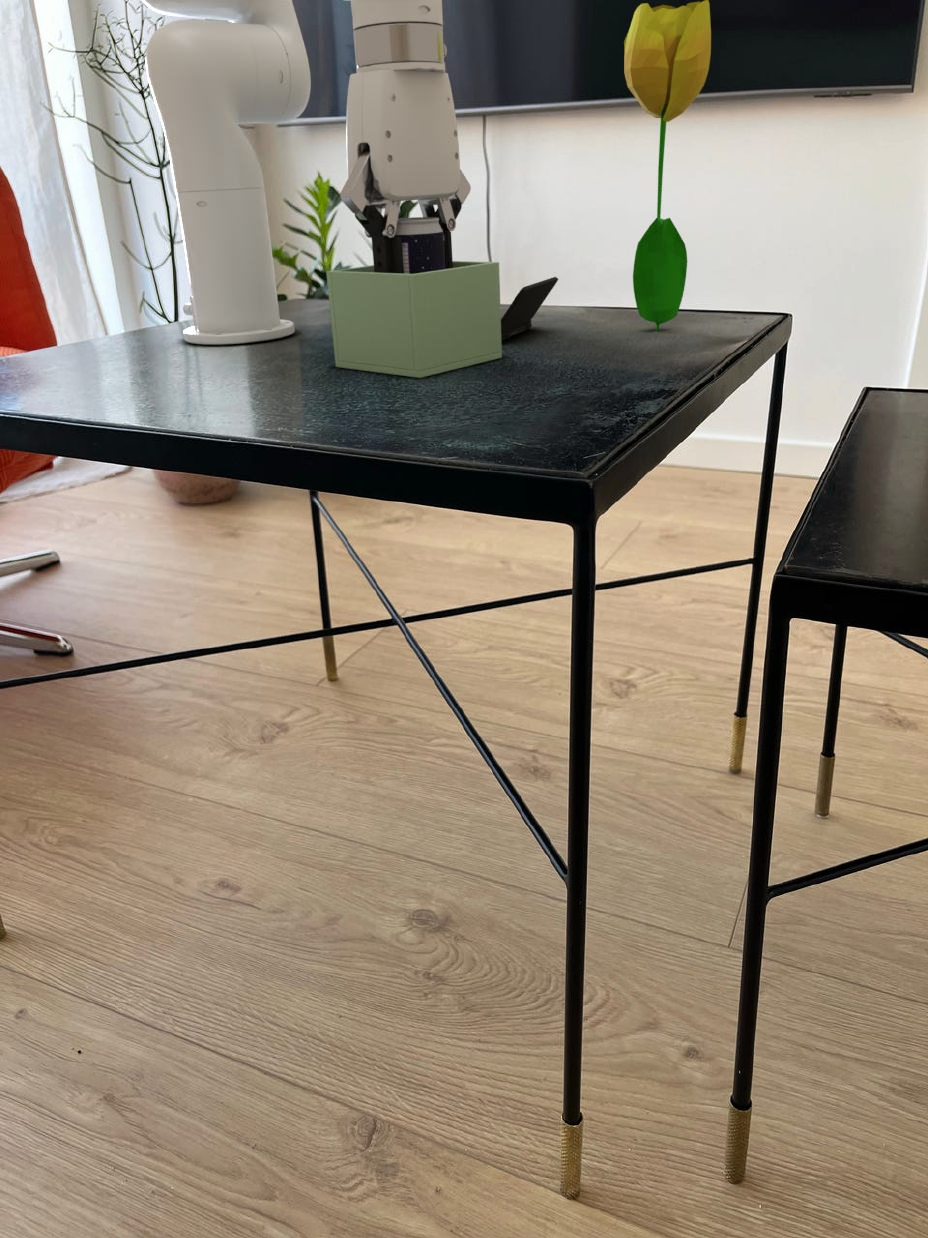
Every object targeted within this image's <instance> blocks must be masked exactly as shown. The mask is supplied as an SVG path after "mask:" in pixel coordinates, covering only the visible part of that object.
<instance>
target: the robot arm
mask: <svg viewBox="0 0 928 1238" xmlns="http://www.w3.org/2000/svg"><path fill="white" fill-rule="evenodd" d="M344 1H347V2H350V7H351V9H350V10H351V17H352V30H353V31H352V35H353V44H354V46H353V47H354V58H355V68H356V70H355V71H356V73H351V74H350V75H349V79H348V80H349V81H348V86H347V98H346V116H345V117H346V118H345V123H346V124H345V141H346V145H345V147H346V167H347V180H346V181H345V184H344V185H343V188H342V189H341V191H340V194H339V195H340V196H339V197H340V200H341V202H342V203H343V204H344V205H345V207H347V209H348V210H349V211H350V212H351V213H352V214H354V218H355V219H356V221H358V223H359V224H360V225H361V226H362V228H363V229H364V235H365V236H366V237H367V238H368V239H369V238H370V239H371V249H372V260H373V265H374V272H376V273H402V274H404V266H403V252H402V241H401V237H394V236H395V233H396V228H397V222H398V218H399V215H400V209H401V203H402V202H406V201H417V202H418V204H419V205H418V206H419V208H420V211H421V214H422V217H436V218H439V221H438V222H439V225H440V227H441V229H442V231H443V232H444V247H445V269H450V268H453V261H454V260H453V243H452V242H453V241H452V232H453V231H455V229H456V228H457V222H456V220H457V218H458V216H459V214H460V213H461V210H462V208H463V207H462V206H463V204H464V203H465V201H466V200H467V198H468V196H469V195H470V192H471V190H472V187H471V184H470V182H469V181H468V179H467V178H466V176H465V173H464V172H463V171H462V169H461V161H460V160H461V159H460V158H461V157H460V143H459V134H458V124H457V123H458V122H457V117H456V109H455V102H454V97H453V96H454V95H453V93H452V92H453V91H452V86H451V81H450V77H449V73H448V72H446V57H447V54H448V47H447V45H446V44H445V37H444V36H445V35H444V34H445V33H444V21H443V19H444V17H443V15H444V14H443V0H344ZM142 2H143V3H144V4H145V5H146V6H147V7H148V8H149V9H151V10H152V11H154V12H156V13H158V14H162V15H167V16H172V17H180V18H185V19H177V20H173V21H170V22H167V23H165V24H163V25H161V26H160V27H158V28H157V29H156V30H155V31H154V32H153V34H152V35H151V37H150V38H149V40H148V43H147V46H146V51H145V71H146V75H147V81H148V84H149V88H150V91H151V93H152V97H153V100H154V104H155V106H156V109H157V112H158V116H159V119H160V122H161V126H162V130H163V133H164V137H165V142H166V146H167V150H168V154H169V162H170V166H171V167H170V168H171V173H172V179H173V186H174V192H175V196H176V202H177V208H178V215H179V221H180V228H181V235H182V240H183V247H184V254H185V260H186V267H187V273H188V279H189V280H188V281H189V287H190V292H191V296H189V300H190V303H189V302H188V303H187V302H186V303H185V304H184V305H183V306H182V311H183V313H184V315H186V316H192V321H193V326H190V327H187V328H185V329H184V330H183V332H182V333H183V339H184V341H185V342H187V343H190V344H195V345H235V344H236V345H238V344H249V343H259V342H264V341H272V340H277V339H282V338H285V337H289V336H291V335H293V334H294V333H295V331H296V329H295V323H294V322H293V321H291V320H288V319H281V317H280V316H281V315H280V307H279V299H278V290H277V282H276V273H275V266H274V257H273V248H272V241H271V232H270V225H269V224H270V223H269V216H268V206H267V200H266V190H265V184H264V183H265V182H264V176H263V170H262V166H261V162H260V160H259V158H258V156H257V154H256V152H255V150H254V148H253V146H252V144H251V142H250V141H249V139H248V137H246V135H245V133H244V132H243V130H242V128H241V127H240V125H241V124H242V125H243V124H245V125H246V124H247V125H249V124H282V123H283V124H284V123H288V122H290V121H291V122H292V121H294V120H295V119H297V118H299V117H300V116H301V115H302V114H303V113H304V111H305V110H306V108H307V106H308V104H309V100H310V95H311V87H312V86H311V85H312V79H311V69H310V63H309V62H310V61H309V58H308V54H307V53H308V52H307V48H306V46H305V42H304V39H303V35H302V31H301V28H300V24H299V20H298V17H297V14H296V10H295V7H294V2H293V0H142ZM435 206H437V208H436V209H435ZM383 209H384V214H382V212H383Z"/></svg>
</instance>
